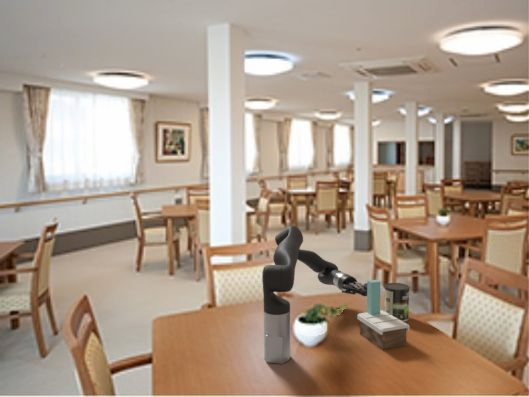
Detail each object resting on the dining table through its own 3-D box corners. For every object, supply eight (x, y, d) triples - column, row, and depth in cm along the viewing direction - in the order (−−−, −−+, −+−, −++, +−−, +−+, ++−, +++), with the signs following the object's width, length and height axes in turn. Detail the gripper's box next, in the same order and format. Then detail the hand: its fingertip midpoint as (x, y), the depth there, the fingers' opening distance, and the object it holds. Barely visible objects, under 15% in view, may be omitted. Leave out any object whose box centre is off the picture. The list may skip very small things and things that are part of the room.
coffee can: (412, 316, 200) (412, 285, 198) (403, 324, 192) (404, 291, 190) (389, 312, 206) (389, 281, 205) (380, 318, 198) (380, 287, 196)
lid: (409, 330, 170) (410, 290, 168) (381, 334, 166) (381, 293, 164) (383, 315, 185) (384, 278, 184) (357, 319, 181) (357, 281, 180)
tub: (406, 346, 170) (406, 328, 170) (382, 350, 167) (383, 332, 166) (381, 330, 185) (381, 313, 185) (359, 334, 182) (360, 317, 181)
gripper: (331, 275, 200) (351, 286, 183) (358, 272, 204) (380, 283, 187) (331, 292, 200) (351, 304, 184) (358, 289, 205) (380, 301, 188)
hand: (366, 293), depth 186 cm, fingers closed
